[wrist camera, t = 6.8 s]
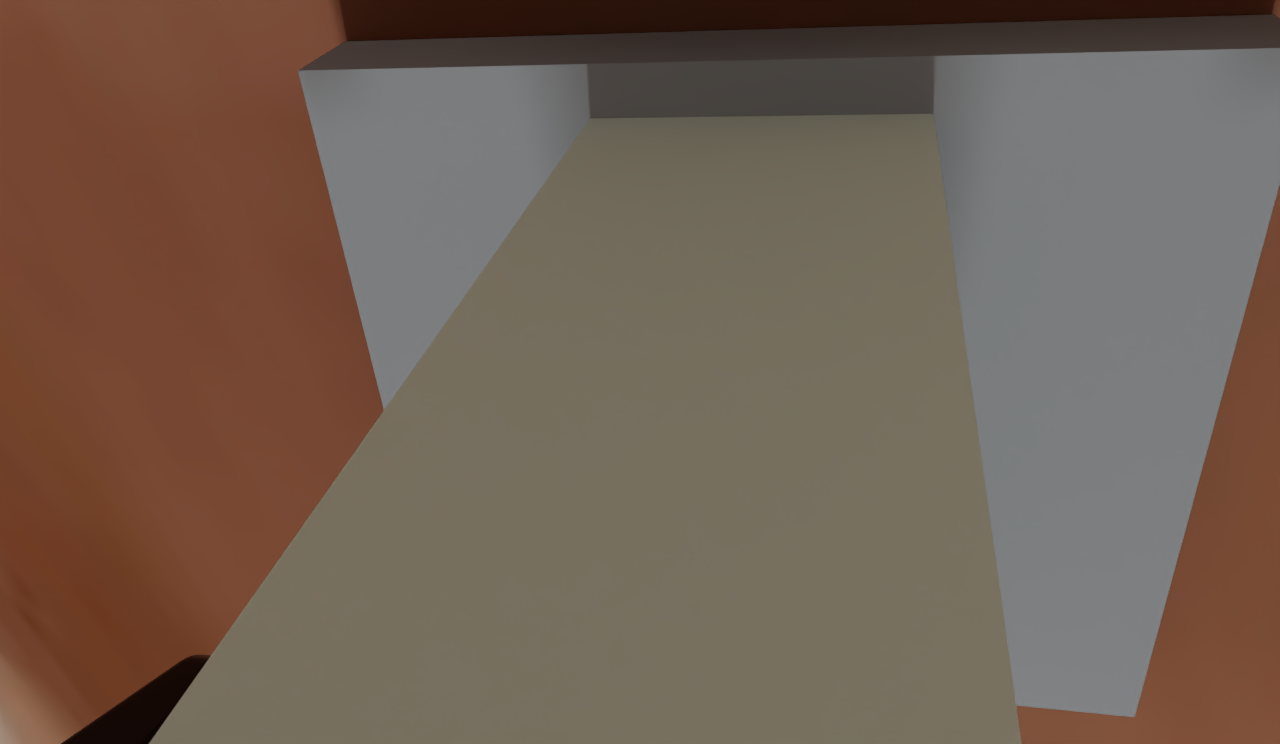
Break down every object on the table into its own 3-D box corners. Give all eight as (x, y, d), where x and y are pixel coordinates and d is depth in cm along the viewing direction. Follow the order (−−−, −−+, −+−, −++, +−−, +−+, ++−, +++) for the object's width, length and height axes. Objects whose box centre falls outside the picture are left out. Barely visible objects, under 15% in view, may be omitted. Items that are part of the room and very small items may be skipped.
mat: (1273, 14, 10) (1317, 46, 9) (1117, 650, 15) (1134, 717, 14) (345, 41, 12) (298, 70, 11) (469, 593, 17) (444, 648, 16)
